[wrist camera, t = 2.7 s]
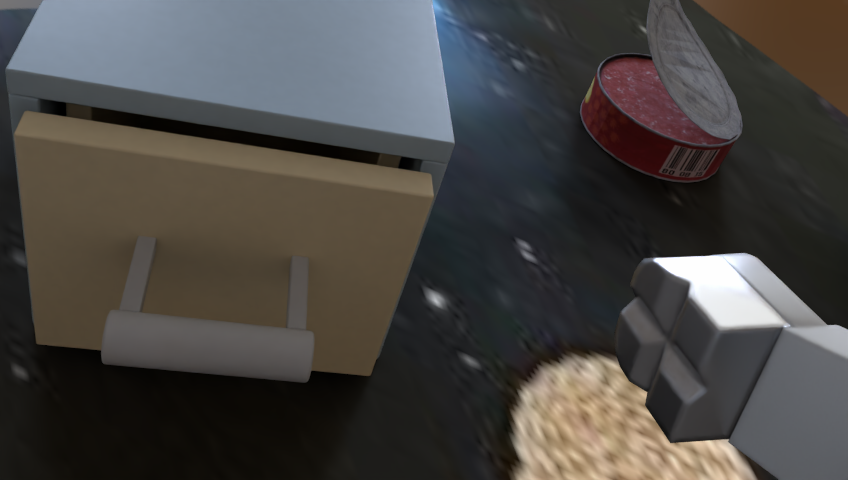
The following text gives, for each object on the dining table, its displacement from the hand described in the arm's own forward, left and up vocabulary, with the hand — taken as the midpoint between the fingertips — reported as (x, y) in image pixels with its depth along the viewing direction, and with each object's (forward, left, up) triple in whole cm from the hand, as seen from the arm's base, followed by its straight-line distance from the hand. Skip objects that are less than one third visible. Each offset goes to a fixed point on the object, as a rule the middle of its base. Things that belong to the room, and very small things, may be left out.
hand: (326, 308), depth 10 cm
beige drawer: (-1, +18, -19) cm, 26 cm away
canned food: (+25, +36, -20) cm, 48 cm away
